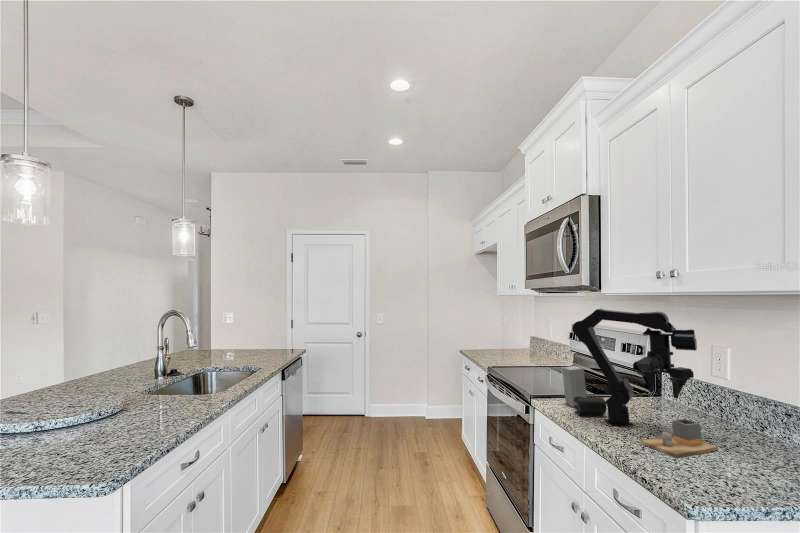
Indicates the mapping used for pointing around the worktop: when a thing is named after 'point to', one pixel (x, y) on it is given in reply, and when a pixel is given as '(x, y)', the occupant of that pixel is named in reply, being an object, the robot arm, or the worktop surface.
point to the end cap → (590, 406)
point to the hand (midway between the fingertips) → (663, 395)
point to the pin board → (676, 446)
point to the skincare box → (574, 384)
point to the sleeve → (687, 432)
